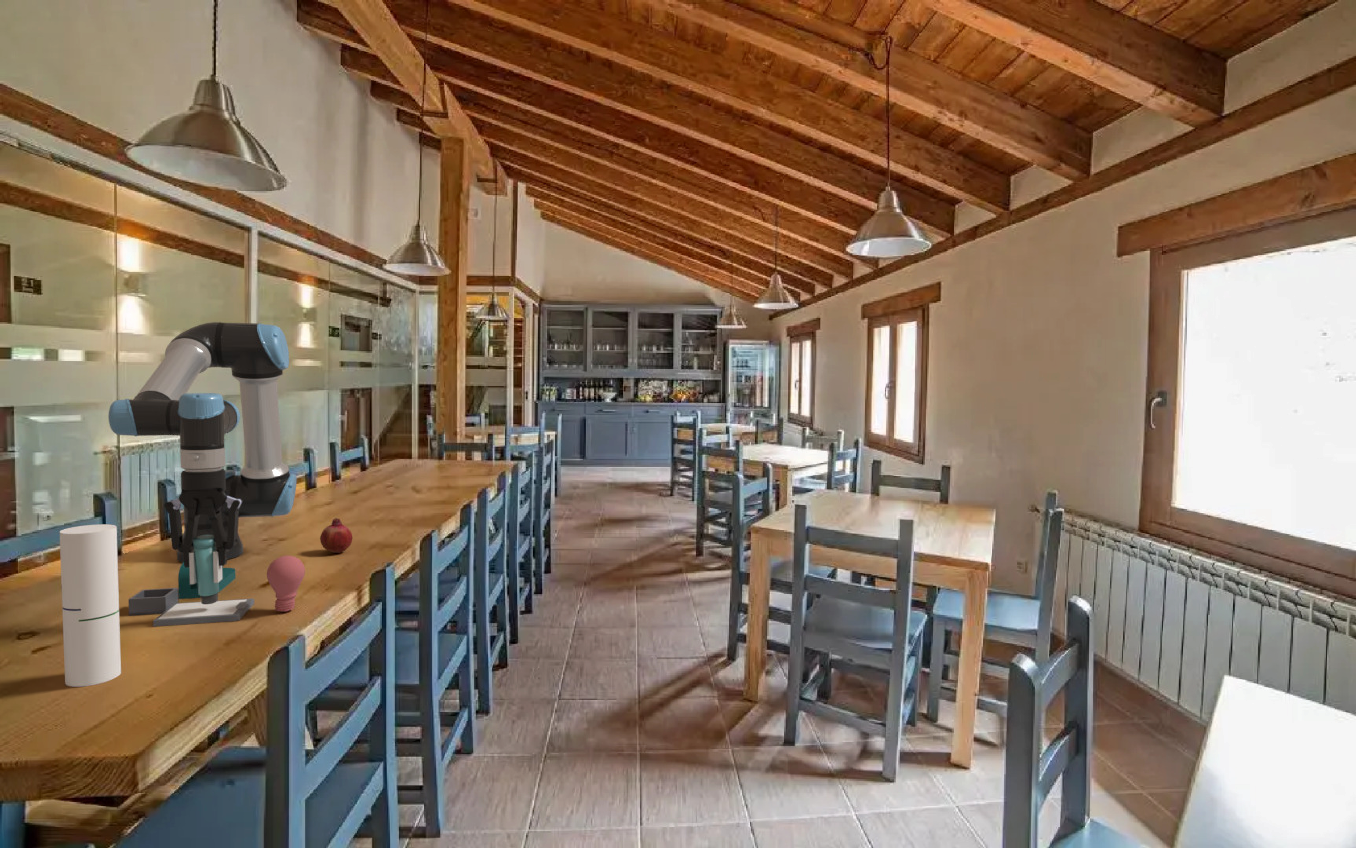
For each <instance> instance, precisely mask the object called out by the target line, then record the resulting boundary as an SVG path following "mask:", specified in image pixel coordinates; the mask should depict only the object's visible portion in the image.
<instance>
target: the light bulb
mask: <svg viewBox="0 0 1356 848" xmlns="http://www.w3.org/2000/svg"><path fill="white" fill-rule="evenodd" d="M267 567H268V568H267V570H266V579H267V581H268V583H269V585H270V587H271V588H272V589H273V591H274V592H275V601H274V603H275V604H274V609H275V611H277V612H285V613H286V612H288V611H291V610H293V609H295V603H296V597H297V595H298V589H299V588H300V586H301V584H302V582H303V580H304V577H305V574H306V568H305V565H304V563H303V562H302V560H301V559H299V558H298V557H295V556H293V555H282V556H280V557H277V558H275V559H274V560H273V561H272V562H271V563H270V564H269V566H267Z"/></svg>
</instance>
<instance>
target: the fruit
mask: <svg viewBox="0 0 1356 848" xmlns="http://www.w3.org/2000/svg"><path fill="white" fill-rule="evenodd" d="M319 539H320V544H321V546H322V548H323V549H325V550H326V551H327V552H330V553H334V554H339V553H342V552H345V551H346V550H348V548H349V547H351V545H352V542H353V533H352V531H351V529H349V527H347V526H346V525H344V524H343V523H342V521H341V519H340V518H337V517H336V518H334V519H332V522H331V524H330V525H328V526H326V527H325V528H324V529H323V530H322V532H321V534H320V537H319Z"/></svg>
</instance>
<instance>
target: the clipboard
mask: <svg viewBox="0 0 1356 848" xmlns="http://www.w3.org/2000/svg"><path fill="white" fill-rule="evenodd" d="M254 605H255V598H239V599H224V600H223V599H222V600H218V601H217V602H215V603H212V604H202V603H201V601H194V602H193V601H191V602H178V603H175V604H174V605H172V606H171V607H170V608H168V609H167V610H166V611H165V612H163V613H162V614H159V615H158V616H157V617H155V619H154V620H152V626H153V627H165V626H180V625H194V624H195V625H196V624H209V623H210V624H211V623H221V622H223V623H224V622H225V623H226V622H237V621H240V620H241V619H242V618H243V617H244V616H245V615H246V614H247V612H248V611H249V610H250V609H251V608H252V607H253V606H254Z"/></svg>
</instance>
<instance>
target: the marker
mask: <svg viewBox="0 0 1356 848" xmlns="http://www.w3.org/2000/svg"><path fill="white" fill-rule="evenodd" d="M215 545H216V542H215V538H214V535H202V536H198V537H195V538H194V539H193V546H194V551H195V561H196V572H197V583H198V594H199V595H200V596H201V598H200V602H201V603H202V604H212V603H215V602H217V601H219V593H220V592H219V582H218V583H214V571H213V552H214V551H215V550H216V546H215ZM218 592H219V593H218Z"/></svg>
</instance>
